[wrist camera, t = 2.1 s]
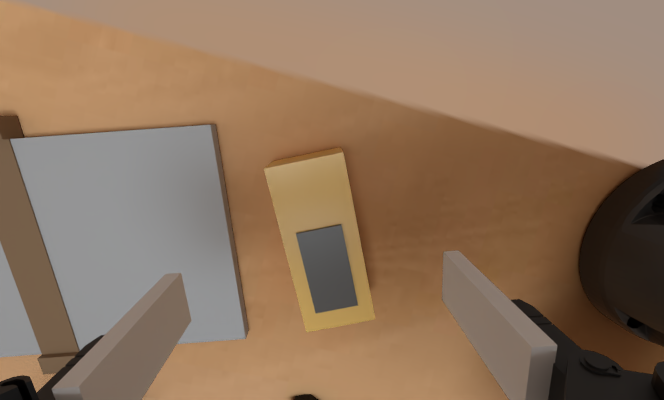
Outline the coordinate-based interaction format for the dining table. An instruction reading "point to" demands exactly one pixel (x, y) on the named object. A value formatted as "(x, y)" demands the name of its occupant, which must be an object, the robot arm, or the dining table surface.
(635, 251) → the robot arm
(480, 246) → the dining table surface
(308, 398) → the curved wedge
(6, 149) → the subfloor panel
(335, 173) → the stud finder block
